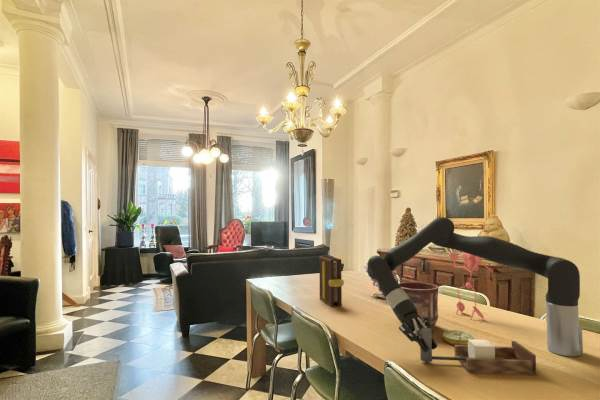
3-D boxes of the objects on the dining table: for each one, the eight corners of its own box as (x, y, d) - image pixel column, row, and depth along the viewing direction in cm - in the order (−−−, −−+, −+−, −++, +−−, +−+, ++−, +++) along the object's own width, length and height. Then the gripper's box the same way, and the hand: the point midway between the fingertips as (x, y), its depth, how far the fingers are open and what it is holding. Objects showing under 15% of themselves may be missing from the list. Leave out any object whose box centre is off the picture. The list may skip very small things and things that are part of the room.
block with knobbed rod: (487, 358, 115) (486, 328, 115) (495, 366, 109) (494, 334, 109) (418, 355, 117) (417, 326, 118) (422, 363, 111) (422, 332, 112)
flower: (414, 296, 200) (402, 255, 212) (385, 296, 189) (374, 254, 201) (390, 304, 215) (380, 266, 227) (363, 305, 204) (354, 265, 216)
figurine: (484, 325, 152) (483, 246, 154) (442, 310, 176) (442, 242, 178) (510, 322, 157) (508, 245, 159) (466, 308, 181) (465, 241, 183)
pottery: (443, 334, 140) (442, 290, 141) (398, 331, 144) (398, 288, 145) (435, 321, 158) (434, 282, 159) (395, 319, 161) (395, 281, 162)
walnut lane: (515, 358, 117) (515, 341, 117) (536, 375, 105) (535, 355, 105) (454, 356, 119) (454, 339, 119) (468, 372, 107) (467, 352, 107)
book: (316, 298, 202) (316, 255, 203) (330, 297, 205) (329, 255, 206) (331, 308, 181) (330, 260, 182) (345, 306, 184) (345, 259, 185)
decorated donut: (455, 336, 139) (455, 327, 139) (480, 345, 130) (479, 335, 130) (437, 340, 134) (437, 330, 135) (461, 350, 125) (461, 339, 125)
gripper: (408, 307, 129) (437, 350, 118) (381, 313, 121) (410, 360, 111) (419, 295, 125) (451, 339, 114) (393, 301, 117) (424, 348, 106)
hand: (431, 349), depth 112 cm, fingers closed on block with knobbed rod, 3 cm apart
